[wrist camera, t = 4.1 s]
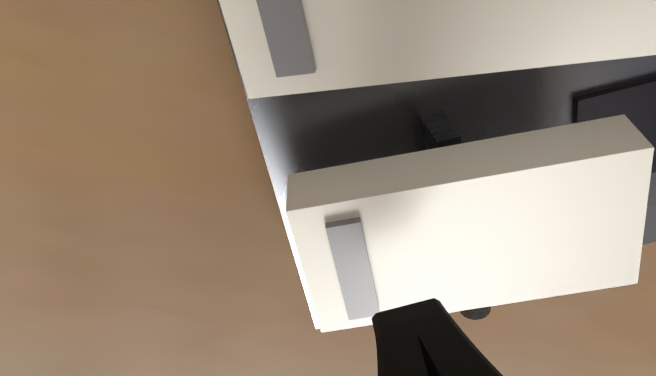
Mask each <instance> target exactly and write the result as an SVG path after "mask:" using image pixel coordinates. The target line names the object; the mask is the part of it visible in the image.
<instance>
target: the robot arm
mask: <svg viewBox="0 0 656 376" xmlns="http://www.w3.org/2000/svg"><path fill="white" fill-rule="evenodd" d="M372 323H373V327H374V332H375V337H376V345H377V361H378V376H503V375H502V374H501V373H500V372H499V371H498V370H497V369H496V368H495V367H494V366H493V365H492V364H491V363H490V362H489V361H488V360H487V359H486V358H485V357H484V355H483V354H482V353H481V352H480V351H479V350H478V349H477V348H476V346H475V345H474V344H473V343H472V342H471V341H470V339H469V338H468V337H467V336H466V335H465V334H464V332H463V331H462V330H461V329H460V327H459V326H458V325H457V324H456V322H455V321H454V320H453V319H452V317H451V316H450V315H449V313H448V312H447V310H446V309H445V308H444V306H443V305H442V303H441V302H440V301H439V300H437V299H435V298H432V299H428V300H424V301H420V302H417V303H413V304H409V305H405V306H401V307H397V308H393V309H389V310H385V311H381V312H378V313H376V314H375V315H374V316H373V317H372Z"/></svg>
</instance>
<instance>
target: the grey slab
mask: <svg viewBox="0 0 656 376" xmlns="http://www.w3.org/2000/svg"><path fill="white" fill-rule="evenodd" d="M217 2H218V5H219V8H220V12H221V15H222V18H223V22H224V25H225V28H226V32H227V35H228V38H229V42H230V45H231V48H232V52H233V55H234V58H235V62H236V65H237V68H238V72H239V75H240V78H241V82H242V85H243V88H244V92H245V95H246V98H247V102H248V105H249V108H250V112H251V115H252V118H253V122H254V125H255V128H256V132H257V135H258V138H259V142H260V145H261V148H262V152H263V155H264V158H265V162H266V165H267V168H268V172H269V175H270V178H271V182H272V185H273V188H274V192H275V195H276V198H277V202H278V205H279V208H280V211H281V215H282V218H283V221H284V225H285V228H286V231H287V235H288V238H289V241H290V245H291V248H292V251H293V255H294V258H295V261H296V265H297V268H298V271H299V275H300V278H301V281H302V285H303V288H304V291H305V295H306V298H307V301H308V305H309V308H310V311H311V315H312V318H313V321H314V325H315V328H316V329H318V328H320V326H319V323H318V319H317V316H316V313H315V309H314V306H313V302H312V299H311V296H310V292H309V289H308V285H307V282H306V279H305V275H304V272H303V268H302V265H301V262H300V258H299V255H298V251H297V248H296V245H295V241H294V238H293V234H292V231H291V228H290V224H289V221H288V217H287V214H286V198H287V178H288V175H289V174H295V173H300V172H306V171H311V170H317V169H323V168H328V167H334V166H339V165H345V164H350V163H356V162H362V161H367V160H373V159H378V158H384V157H389V156H395V155H401V154H406V153H412V152H417V151H423V150H428V149H434V148H440V147H445V146H451V145H456V144H462V143H467V142H473V141H479V140H484V139H490V138H495V137H501V136H506V135H512V134H518V133H523V132H529V131H534V130H540V129H545V128H551V127H556V126H562V125H568V124H573V123H579V122H584V121H590V120H595V119H601V118H607V117H612V116H618V115H623V114H624V115H625V116H626V117H627V118H628V119H629V120H630V121H631V122H632V123H633V125H634V126H635V127H636V128H637V129H638V130H639V131H640V132H641V133H642V134H643V136H644V137H645V138H646V139H647V140H648V141H649V142H650V143H651V144H652V145H653V147H654V153H653V161H652V169H651V178H650V186H649V194H648V202H647V210H646V218H645V226H644V235H643V243H642V245H644V244H648V243H652V242H655V241H656V55H651V56H642V57H632V58H623V59H614V60H605V61H595V62H586V63H577V64H568V65H558V66H549V67H540V68H531V69H521V70H512V71H503V72H494V73H484V74H475V75H466V76H457V77H447V78H438V79H429V80H420V81H410V82H401V83H392V84H383V85H373V86H364V87H355V88H346V89H336V90H327V91H318V92H309V93H299V94H290V95H281V96H272V97H262V98H253V99H248V96H247V93H246V90H245V86H244V83H243V80H242V76H241V73H240V70H239V66H238V63H237V60H236V56H235V53H234V49H233V46H232V43H231V39H230V36H229V33H228V29H227V26H226V23H225V19H224V16H223V13H222V9H221V6H220V3H219V0H217ZM490 310H491V306H489V307H483V308H476V309H470V310H464V311H460V312H461V314H462V315H463V316H464V317H466V318H468V319H473V320H478V319H482V318H484V317H486V316H487V315H488V314H489V313H490Z"/></svg>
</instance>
